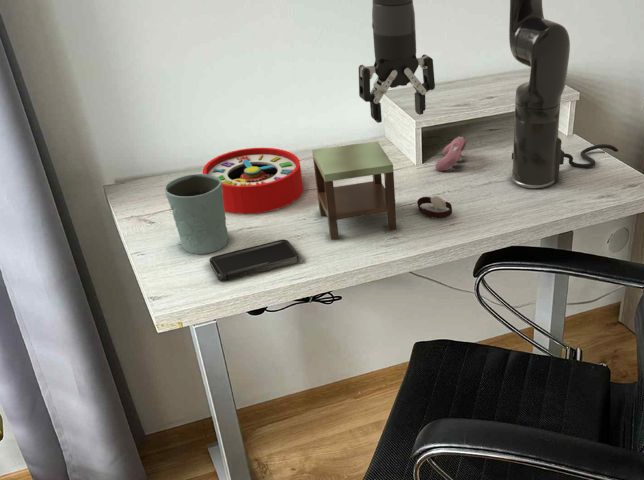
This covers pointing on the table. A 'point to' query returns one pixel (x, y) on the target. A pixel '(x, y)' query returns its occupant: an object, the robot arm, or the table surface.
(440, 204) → the watch
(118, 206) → the table surface
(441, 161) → the video game controller
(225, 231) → the grey-green cup
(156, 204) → the table surface
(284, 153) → the toy clock
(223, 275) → the phone
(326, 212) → the small side table
